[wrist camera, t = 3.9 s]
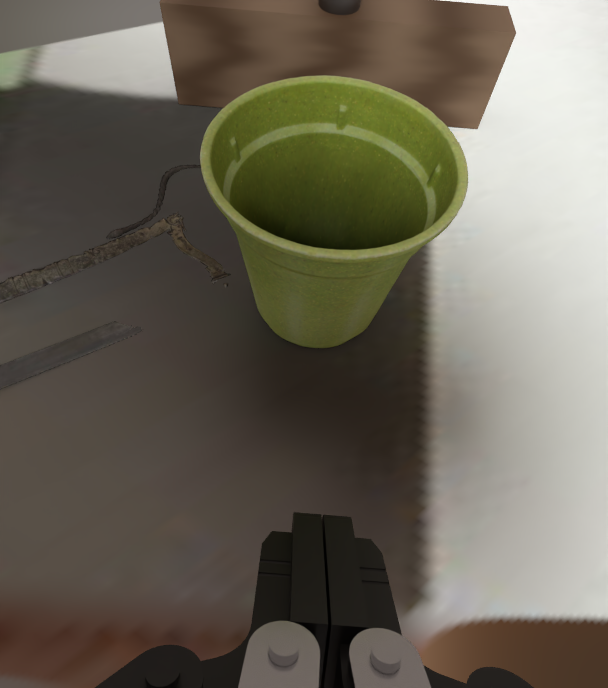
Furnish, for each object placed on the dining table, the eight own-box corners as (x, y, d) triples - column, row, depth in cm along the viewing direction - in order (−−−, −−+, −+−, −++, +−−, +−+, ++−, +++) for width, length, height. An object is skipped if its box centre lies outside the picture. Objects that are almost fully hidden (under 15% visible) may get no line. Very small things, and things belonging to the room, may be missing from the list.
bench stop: (178, 104, 32) (146, -65, 24) (187, 78, 33) (159, -89, 25) (477, 128, 32) (541, -31, 24) (472, 102, 33) (531, -56, 26)
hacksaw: (-258, 510, 18) (-299, 501, 17) (-258, 314, 23) (-291, 295, 21) (290, 278, 25) (291, 259, 24) (209, 162, 30) (206, 141, 28)
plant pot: (411, 242, 26) (464, 90, 19) (407, 396, 22) (475, 274, 14) (245, 219, 27) (232, 61, 19) (204, 366, 22) (165, 232, 14)
